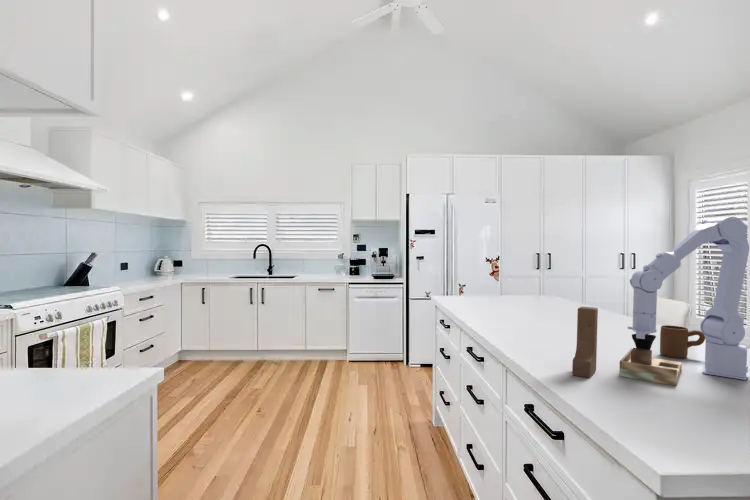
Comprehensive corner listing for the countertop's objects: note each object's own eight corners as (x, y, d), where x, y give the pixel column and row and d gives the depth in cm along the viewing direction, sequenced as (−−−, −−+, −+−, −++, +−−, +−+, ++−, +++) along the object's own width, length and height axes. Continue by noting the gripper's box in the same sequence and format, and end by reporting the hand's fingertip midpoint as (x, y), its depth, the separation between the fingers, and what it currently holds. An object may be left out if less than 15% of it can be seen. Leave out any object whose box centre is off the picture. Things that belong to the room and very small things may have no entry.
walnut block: (651, 366, 126) (651, 350, 126) (649, 369, 122) (649, 353, 122) (633, 363, 128) (633, 347, 128) (630, 366, 125) (631, 350, 125)
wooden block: (589, 378, 120) (591, 311, 119) (571, 375, 122) (573, 309, 122) (596, 371, 127) (598, 307, 127) (579, 368, 130) (580, 306, 129)
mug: (703, 357, 146) (704, 328, 145) (705, 362, 139) (706, 332, 139) (659, 352, 152) (660, 324, 152) (659, 356, 146) (660, 327, 146)
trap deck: (681, 369, 131) (681, 355, 131) (676, 385, 115) (676, 370, 115) (630, 361, 139) (631, 348, 139) (619, 375, 123) (619, 361, 123)
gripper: (632, 308, 136) (631, 353, 136) (624, 313, 125) (622, 362, 125) (659, 311, 132) (658, 357, 132) (654, 316, 120) (652, 367, 121)
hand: (643, 360), depth 128 cm, fingers closed
